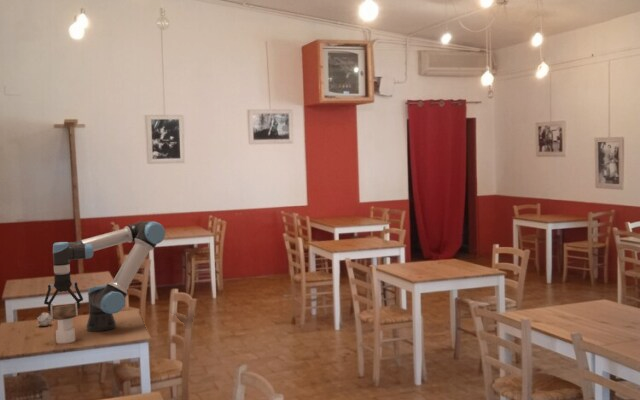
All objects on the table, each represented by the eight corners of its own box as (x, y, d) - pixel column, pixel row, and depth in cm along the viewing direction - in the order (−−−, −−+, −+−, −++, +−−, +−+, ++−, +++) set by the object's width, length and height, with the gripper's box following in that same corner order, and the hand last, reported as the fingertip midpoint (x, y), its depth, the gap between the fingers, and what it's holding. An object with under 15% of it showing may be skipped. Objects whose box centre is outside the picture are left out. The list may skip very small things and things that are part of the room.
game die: (49, 332, 376) (59, 317, 377) (38, 330, 369) (49, 315, 369) (39, 323, 380) (50, 308, 381) (29, 321, 372) (40, 305, 373)
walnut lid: (76, 313, 346) (76, 304, 346) (75, 318, 336) (75, 308, 335) (53, 316, 343) (53, 306, 342) (52, 320, 332) (51, 310, 332)
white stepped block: (62, 338, 345) (60, 315, 344) (78, 338, 344) (77, 315, 343) (52, 343, 336) (51, 319, 335) (69, 343, 335) (68, 319, 334)
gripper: (87, 270, 345) (89, 312, 346) (37, 274, 338) (40, 317, 339) (86, 272, 338) (88, 315, 339) (36, 276, 331) (38, 320, 332)
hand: (64, 316), depth 339 cm, fingers closed on walnut lid, 11 cm apart
